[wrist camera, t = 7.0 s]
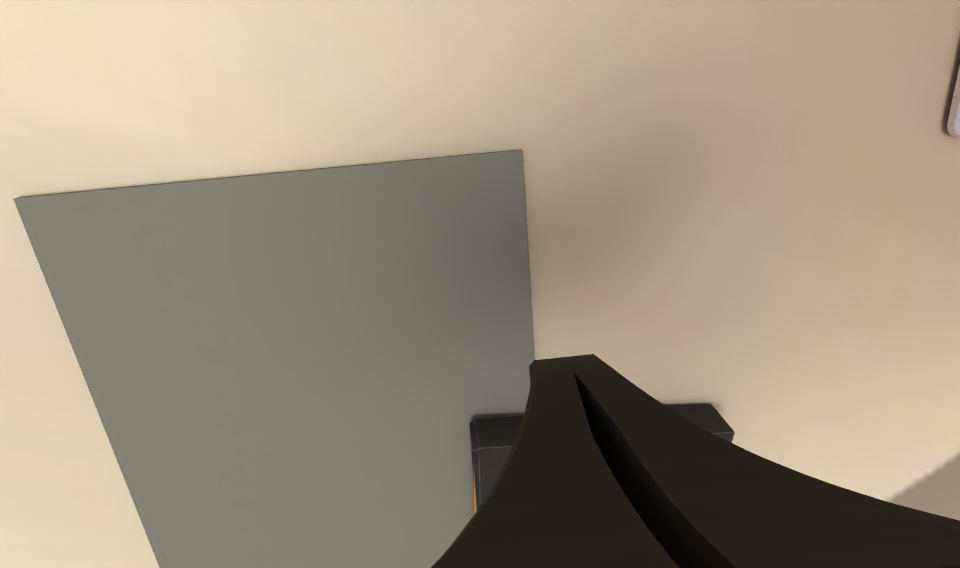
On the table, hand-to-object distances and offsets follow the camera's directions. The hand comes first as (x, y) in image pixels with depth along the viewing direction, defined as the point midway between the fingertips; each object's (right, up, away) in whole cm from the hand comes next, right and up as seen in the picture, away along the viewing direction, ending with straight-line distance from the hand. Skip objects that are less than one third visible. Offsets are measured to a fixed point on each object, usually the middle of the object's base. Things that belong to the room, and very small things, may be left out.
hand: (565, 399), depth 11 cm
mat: (-8, -3, +12) cm, 15 cm away
